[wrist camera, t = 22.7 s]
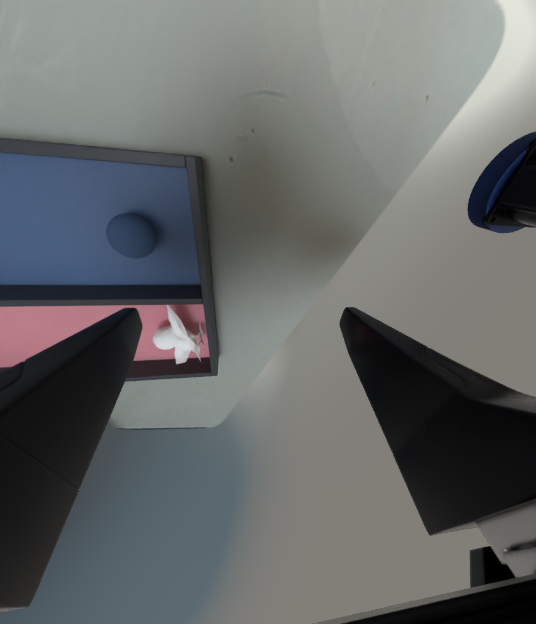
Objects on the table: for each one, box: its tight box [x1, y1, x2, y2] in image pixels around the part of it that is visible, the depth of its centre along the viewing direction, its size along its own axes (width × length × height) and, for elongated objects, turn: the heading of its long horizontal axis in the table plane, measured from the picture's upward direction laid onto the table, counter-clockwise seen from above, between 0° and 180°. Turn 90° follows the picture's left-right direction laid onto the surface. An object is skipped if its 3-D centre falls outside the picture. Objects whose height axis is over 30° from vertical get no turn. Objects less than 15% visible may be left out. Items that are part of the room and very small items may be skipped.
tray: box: [0, 138, 219, 381], centre depth 17 cm, size 32×20×3 cm, turn 86°
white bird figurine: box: [152, 305, 205, 364], centre depth 20 cm, size 8×5×5 cm, turn 172°
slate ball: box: [106, 213, 157, 259], centre depth 15 cm, size 3×3×3 cm
